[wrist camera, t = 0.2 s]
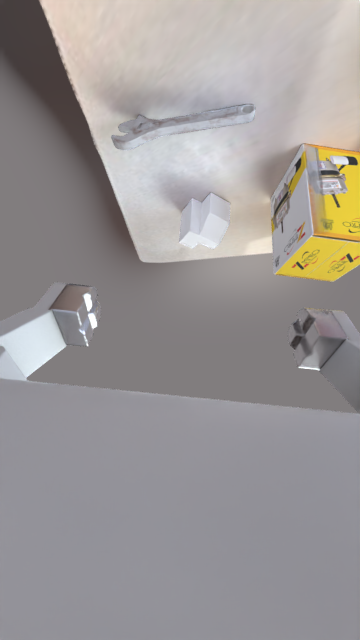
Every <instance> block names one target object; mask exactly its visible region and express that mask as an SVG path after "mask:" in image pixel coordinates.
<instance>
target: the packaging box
mask: <svg viewBox="0 0 360 640" xmlns="http://www.w3.org/2000/svg"><path fill="white" fill-rule="evenodd" d="M271 222H272V245H273V268H274V275H283V276H291V277H299V278H307V279H315V280H323V281H331V282H333V281H335V280H336V279H338V278H340V277H341V276H342V275H344V274H346V273H347V272H349V271H350V270H352V269H354V268H355V267H357V266H358V265H360V152H355V151H348V150H342V149H336V148H329V147H323V146H317V145H310V144H302V146H301V147H300V149H299V151H298V152H297V154H296V156H295V158H294V159H293V161H292V163H291V165H290V166H289V168H288V170H287V172H286V173H285V175H284V177H283V178H282V180H281V182H280V184H279V185H278V187H277V189H276V191H275V192H274V194H273V196H272V198H271Z"/></svg>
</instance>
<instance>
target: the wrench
mask: <svg viewBox="0 0 360 640" xmlns="http://www.w3.org/2000/svg"><path fill="white" fill-rule="evenodd" d="M254 115H255V106H254V105H252V104H245V105H240V106H235V107H229V108H224V109H218V110H213V111H207V112H201V113H196V114H190V115H185V116H179V117H174V118H168V119H161V120H152V119H148V118H145V117H144V118H143V117H142V116H141V115H139V116H138V118H137V119H135V120H130V121H127V122H124V123H122V124H120V125H119V126H118V128H119V131H120V132H124V133H127V134H126V135H125V136H115V135H112V136H111V138H112V141H113V143H114V145H115V147H116V148H118V149H120V150H131V149H134V148H136V147H137V146H140V145H142V144H144V143H146V142H148V141H150V140H153V139H156V138H158V137H161V136H167V135H173V134H179V133H186V132H192V131H198V130H205V129H211V128H217V127H223V126H230V125H236V124H242V123H248V122H251V121H252V120H253V119H254Z"/></svg>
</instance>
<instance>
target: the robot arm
mask: <svg viewBox="0 0 360 640" xmlns="http://www.w3.org/2000/svg"><path fill="white" fill-rule="evenodd" d="M97 296H98V294H97V290H96V288H95V287H93V286H85V285H76V284H67V283H58V282H56V283H53V284H52V285H51V287H50V288H49V289H48V290H47V292H46V293H45V294H44V295H43V297H42V298H41V299H40V300H39V302H38V303H37V304H36V305H35V306H34V308H28V309H26V310H23V311H21V312H19V313H17V314H15V315H13V316H10V317H8V318H6V319H4V320H2V321H0V640H360V334H359V333H358V331H357V330H356V328H355V327H354V325H353V324H352V322H351V321H350V319H349V318H348V316H347V315H346V313H344V312H343V311H338V310H321V309H311V308H301V309H300V310H299V312H298V314H297V318H298V320H296V321H295V322H293V323H292V324H291V326H290V328H289V331H288V341H289V344H290V346H291V347H292V348H294V349H295V351H294V353H293V355H294V358H295V361H296V364H297V366H298V367H299V368H306V369H315V370H320V371H319V372H320V373H321V374H322V375H323V376H324V377H325V378H326V379H327V380H328V381H329V382H330V383H331V384H332V385H333V386H334V387H335V389H336V390H337V391H338V392H339V393H340V394H341V395H342V396H343V397H344V398H345V399H346V400H347V401H348V402H349V403H350V404H351V405H352V407H353V408H354V409H355V410H356V411H357V413H347V412H337V411H327V410H317V409H307V408H297V407H287V406H276V405H266V404H255V403H245V402H235V401H225V400H215V399H204V398H194V397H184V396H175V395H165V394H155V393H145V392H135V391H124V390H114V389H105V388H94V387H84V386H74V385H64V384H54V383H44V382H34V381H28V380H27V379H26V377H27V376H29V375H30V374H31V373H32V372H34V371H35V370H36V369H38V368H39V367H40V366H41V365H43V364H44V363H45V362H47V361H48V360H49V359H50V358H52V357H53V356H54V355H56V354H57V353H58V352H59V351H61V350H62V349H63V348H65V347H66V345H73V346H74V345H75V346H87V347H88V345H89V343H90V341H91V339H92V337H93V330H92V329H93V328H95V327H97V326H98V323H99V321H100V316H101V308H100V304H99V303H98V302H97V301H96V298H97Z"/></svg>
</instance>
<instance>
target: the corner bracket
mask: <svg viewBox="0 0 360 640" xmlns="http://www.w3.org/2000/svg"><path fill="white" fill-rule="evenodd" d="M229 224H230V203H229V202H227V201H225V200H224V199H222V198H220V197H218V196H216V195H215V194H213V193H210V194H209V195H208V196H207V197H206V198H205V200H204V201H203V202H202V203H201V202H199V201H197V200H196V199H194V198H192V199H191V201H190V202H189V203H188V205H187V206H186V207H185V208H184V210H183V211H182V216H181V226H180V236H179V243H181V244H183V245H185V246H188V247H190V248H193V249H194V248H195V247H196V246H197V245H198V244H201V245H204V246H206V247H208V248H211V249H214V248H216V247H217V246H218V245H219V244H220V242H221V240H222V238H223V236H224V234H225V232H226V230H227V228H228V226H229Z"/></svg>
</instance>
